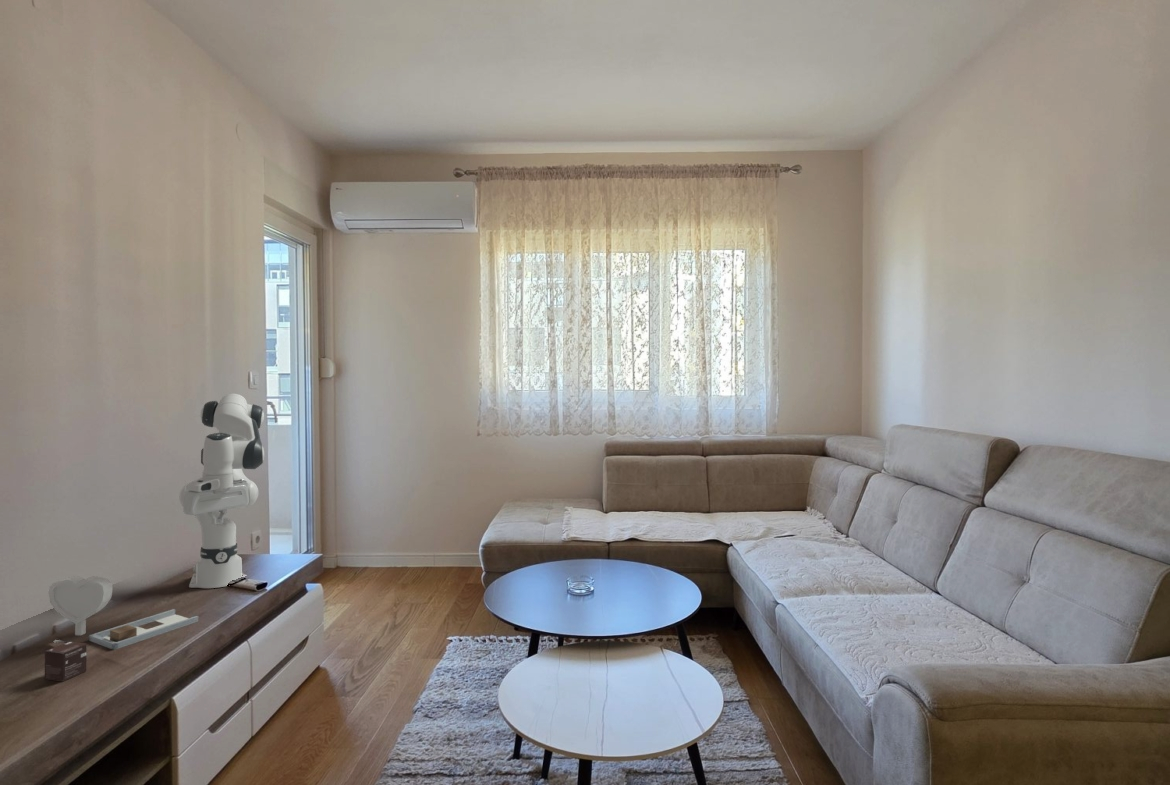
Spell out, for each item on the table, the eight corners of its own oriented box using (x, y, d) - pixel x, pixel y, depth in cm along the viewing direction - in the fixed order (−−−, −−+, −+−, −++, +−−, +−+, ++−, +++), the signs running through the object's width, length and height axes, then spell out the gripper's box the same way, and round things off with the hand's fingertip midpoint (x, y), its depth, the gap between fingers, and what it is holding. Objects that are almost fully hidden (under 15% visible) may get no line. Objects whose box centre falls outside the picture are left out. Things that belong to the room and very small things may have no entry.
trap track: (113, 655, 165) (114, 644, 165) (88, 645, 171) (88, 635, 171) (198, 626, 186) (198, 616, 186) (173, 618, 192) (173, 609, 192)
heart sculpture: (45, 642, 172) (46, 580, 172) (60, 635, 177) (60, 575, 177) (101, 642, 173) (102, 580, 173) (114, 635, 178) (114, 575, 178)
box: (62, 682, 150) (62, 653, 150) (43, 679, 151) (43, 650, 151) (87, 671, 156) (87, 643, 156) (68, 668, 157) (69, 641, 157)
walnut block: (118, 645, 168) (118, 633, 168) (109, 642, 170) (110, 630, 170) (136, 639, 172) (136, 627, 172) (127, 636, 174) (127, 624, 174)
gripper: (241, 477, 209) (240, 517, 209) (180, 485, 191) (180, 528, 191) (253, 479, 206) (252, 518, 206) (192, 487, 188) (192, 531, 188)
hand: (217, 523), depth 198 cm, fingers closed
